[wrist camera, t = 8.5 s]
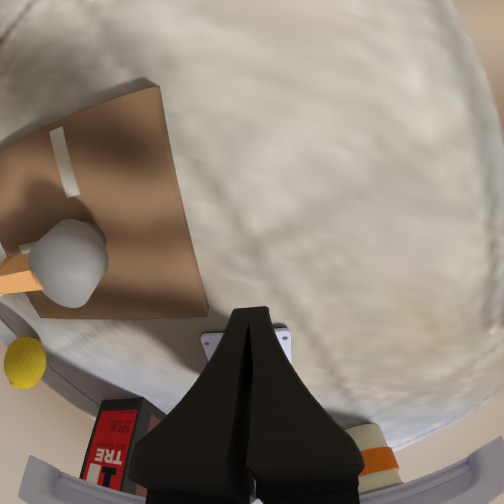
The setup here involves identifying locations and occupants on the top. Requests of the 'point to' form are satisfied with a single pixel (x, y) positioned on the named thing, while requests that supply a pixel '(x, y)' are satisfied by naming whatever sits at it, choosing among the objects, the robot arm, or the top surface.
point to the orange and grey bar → (59, 265)
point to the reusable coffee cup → (375, 459)
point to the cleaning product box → (118, 442)
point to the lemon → (25, 362)
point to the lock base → (107, 207)
